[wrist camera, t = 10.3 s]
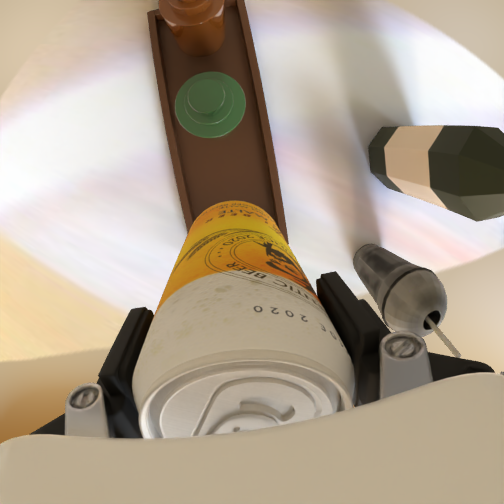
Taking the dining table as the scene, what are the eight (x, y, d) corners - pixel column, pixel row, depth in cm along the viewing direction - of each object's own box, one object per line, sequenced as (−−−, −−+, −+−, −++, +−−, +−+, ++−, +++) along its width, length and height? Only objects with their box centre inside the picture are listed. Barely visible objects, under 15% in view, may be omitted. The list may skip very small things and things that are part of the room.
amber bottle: (180, 62, 28) (150, 14, 15) (173, 22, 27) (145, -38, 13) (229, 52, 28) (229, -3, 15) (221, 13, 27) (218, -53, 13)
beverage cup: (384, 224, 37) (489, 292, 18) (397, 270, 39) (487, 352, 21) (335, 249, 38) (419, 340, 19) (352, 294, 40) (426, 395, 21)
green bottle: (195, 145, 32) (172, 144, 19) (186, 98, 30) (158, 68, 17) (245, 135, 32) (255, 127, 19) (236, 88, 30) (241, 50, 17)
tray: (197, 254, 37) (195, 262, 34) (152, 19, 27) (147, 11, 24) (284, 237, 37) (288, 244, 34) (241, 1, 27) (242, -8, 24)
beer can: (296, 225, 20) (414, 384, 6) (251, 298, 22) (282, 497, 8) (214, 181, 19) (175, 288, 5) (173, 261, 21) (102, 451, 7)
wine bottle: (355, 141, 33) (604, 178, 5) (405, 114, 32) (628, 123, 4) (384, 200, 36) (592, 316, 8) (429, 171, 35) (631, 241, 7)
